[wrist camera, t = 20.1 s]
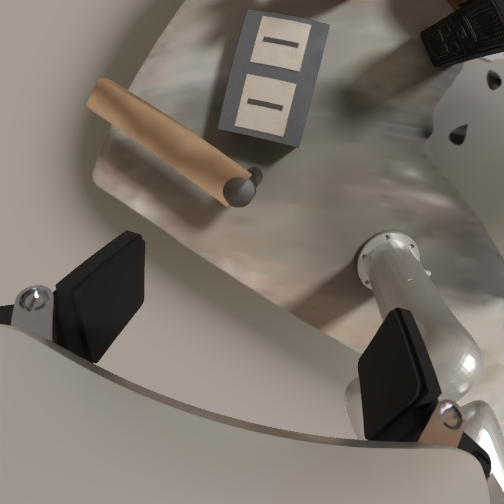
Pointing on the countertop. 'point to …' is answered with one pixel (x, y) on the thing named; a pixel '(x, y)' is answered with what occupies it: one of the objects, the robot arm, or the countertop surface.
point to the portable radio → (466, 33)
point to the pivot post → (255, 175)
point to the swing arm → (173, 144)
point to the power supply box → (273, 76)
